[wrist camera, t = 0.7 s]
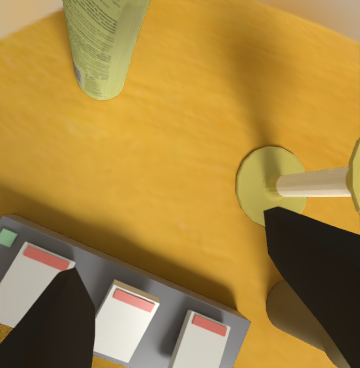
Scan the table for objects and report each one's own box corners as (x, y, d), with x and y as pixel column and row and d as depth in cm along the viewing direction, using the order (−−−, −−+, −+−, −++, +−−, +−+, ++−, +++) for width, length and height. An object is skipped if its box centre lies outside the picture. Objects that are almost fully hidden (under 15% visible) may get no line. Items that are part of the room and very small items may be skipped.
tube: (132, 60, 30) (177, -162, 12) (129, 106, 30) (170, -47, 11) (77, 50, 29) (27, -222, 10) (73, 98, 29) (14, -92, 10)
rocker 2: (128, 354, 26) (128, 364, 25) (82, 338, 25) (80, 347, 24) (158, 297, 26) (159, 304, 24) (114, 279, 25) (113, 285, 23)
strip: (209, 380, 31) (222, 404, 27) (-32, 293, 26) (-54, 308, 22) (237, 310, 32) (254, 324, 29) (13, 213, 27) (-1, 216, 23)
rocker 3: (205, 391, 26) (211, 397, 25) (164, 376, 25) (168, 382, 24) (225, 324, 28) (231, 327, 27) (188, 309, 27) (192, 311, 26)
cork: (258, 295, 33) (331, 341, 22) (297, 270, 35) (383, 302, 24) (278, 340, 33) (359, 406, 23) (316, 313, 35) (408, 363, 24)
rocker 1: (39, 332, 23) (37, 336, 22) (-16, 313, 22) (-21, 316, 21) (75, 262, 25) (75, 262, 24) (27, 242, 24) (24, 241, 23)
